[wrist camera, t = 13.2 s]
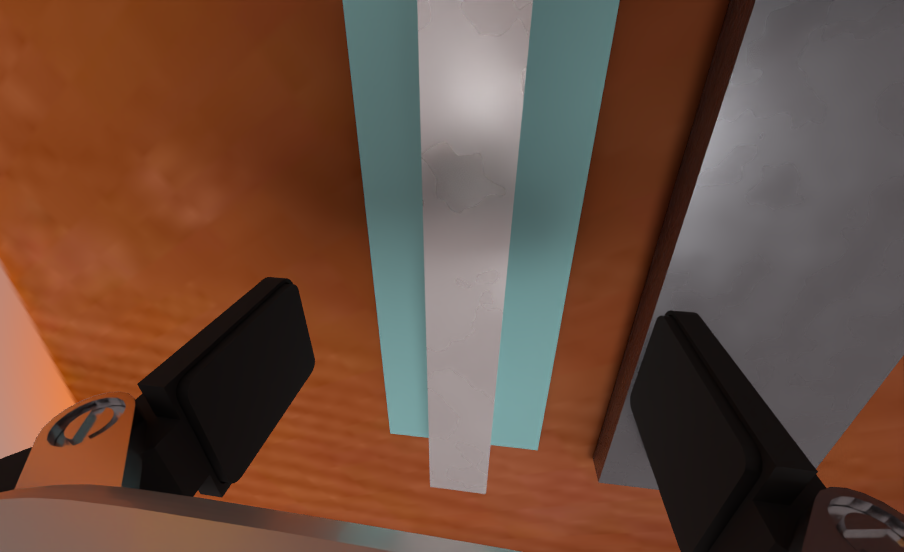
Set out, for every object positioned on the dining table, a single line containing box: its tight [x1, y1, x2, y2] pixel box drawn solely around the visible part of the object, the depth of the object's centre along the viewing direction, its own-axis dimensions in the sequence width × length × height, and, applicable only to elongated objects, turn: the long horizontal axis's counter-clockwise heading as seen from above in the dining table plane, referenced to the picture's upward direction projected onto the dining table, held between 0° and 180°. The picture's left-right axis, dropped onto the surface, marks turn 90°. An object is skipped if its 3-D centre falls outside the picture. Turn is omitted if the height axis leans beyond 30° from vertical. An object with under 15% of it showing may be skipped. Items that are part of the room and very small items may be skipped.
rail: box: [417, 0, 533, 494], centre depth 15 cm, size 26×3×3 cm, turn 179°
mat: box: [343, 0, 620, 450], centre depth 15 cm, size 30×9×1 cm, turn 0°
